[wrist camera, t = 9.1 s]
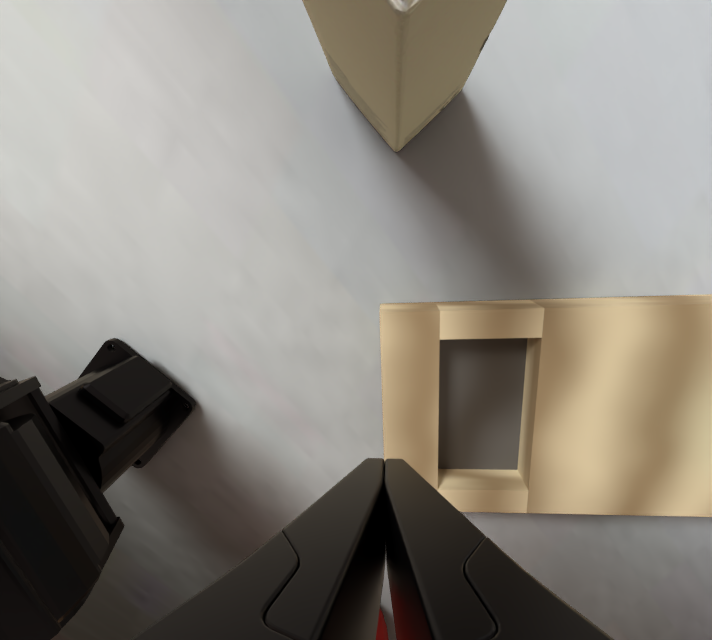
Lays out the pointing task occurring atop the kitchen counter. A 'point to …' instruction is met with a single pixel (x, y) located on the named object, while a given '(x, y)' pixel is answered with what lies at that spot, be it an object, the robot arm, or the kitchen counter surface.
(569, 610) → the robot arm
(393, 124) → the box
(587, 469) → the birch board
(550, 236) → the kitchen counter surface
